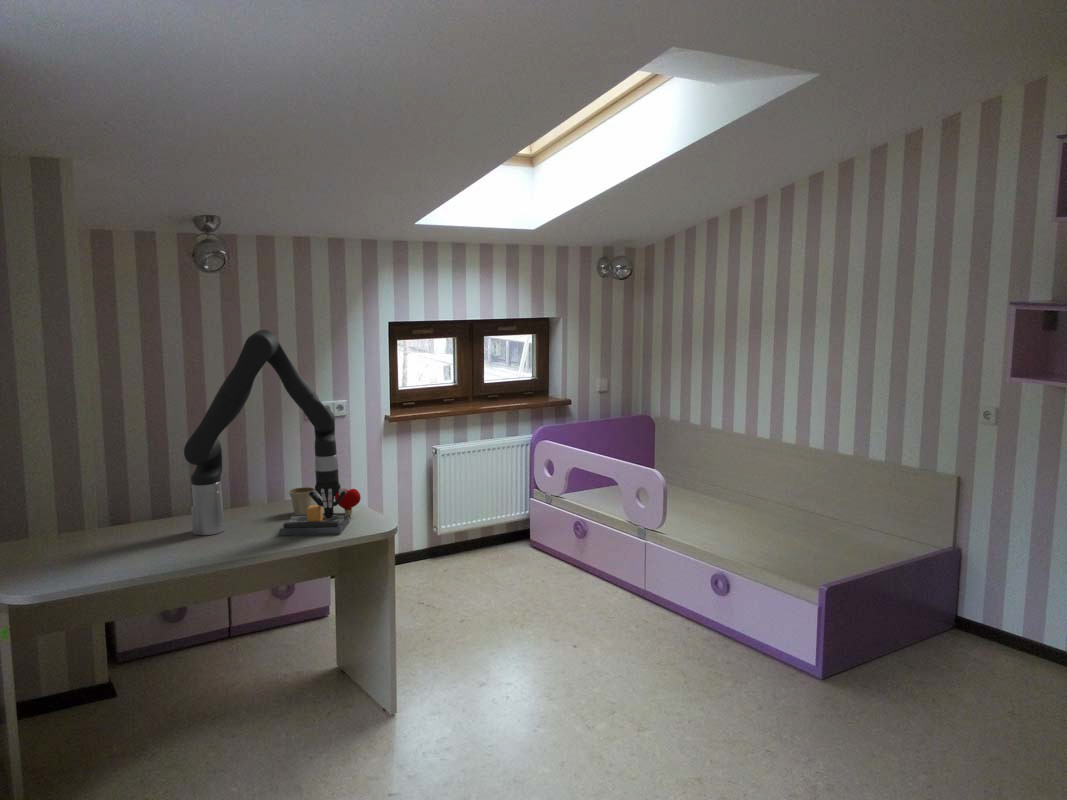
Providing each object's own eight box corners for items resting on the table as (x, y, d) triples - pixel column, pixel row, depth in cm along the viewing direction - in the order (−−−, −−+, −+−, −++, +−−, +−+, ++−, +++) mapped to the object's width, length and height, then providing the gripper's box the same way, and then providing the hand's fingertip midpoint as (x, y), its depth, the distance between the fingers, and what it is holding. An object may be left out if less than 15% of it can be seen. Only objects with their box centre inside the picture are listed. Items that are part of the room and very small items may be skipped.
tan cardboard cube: (307, 523, 275) (306, 509, 274) (311, 519, 280) (310, 505, 279) (319, 523, 275) (318, 508, 274) (322, 519, 280) (321, 505, 279)
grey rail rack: (283, 527, 271) (283, 523, 271) (293, 517, 283) (293, 514, 283) (337, 526, 272) (337, 522, 271) (345, 516, 283) (345, 512, 283)
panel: (280, 535, 271) (279, 525, 270) (292, 523, 285) (291, 513, 284) (340, 534, 271) (339, 523, 270) (349, 522, 285) (348, 512, 284)
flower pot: (291, 510, 302) (289, 487, 301) (317, 508, 304) (316, 486, 303) (288, 517, 293) (286, 494, 292) (315, 515, 295) (313, 492, 294)
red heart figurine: (364, 513, 296) (362, 486, 294) (358, 519, 289) (356, 491, 287) (339, 513, 297) (337, 486, 295) (332, 518, 290) (331, 491, 288)
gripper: (303, 470, 271) (306, 521, 273) (343, 470, 271) (346, 520, 274) (309, 466, 279) (312, 515, 281) (348, 465, 279) (351, 514, 281)
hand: (329, 517), depth 277 cm, fingers closed
